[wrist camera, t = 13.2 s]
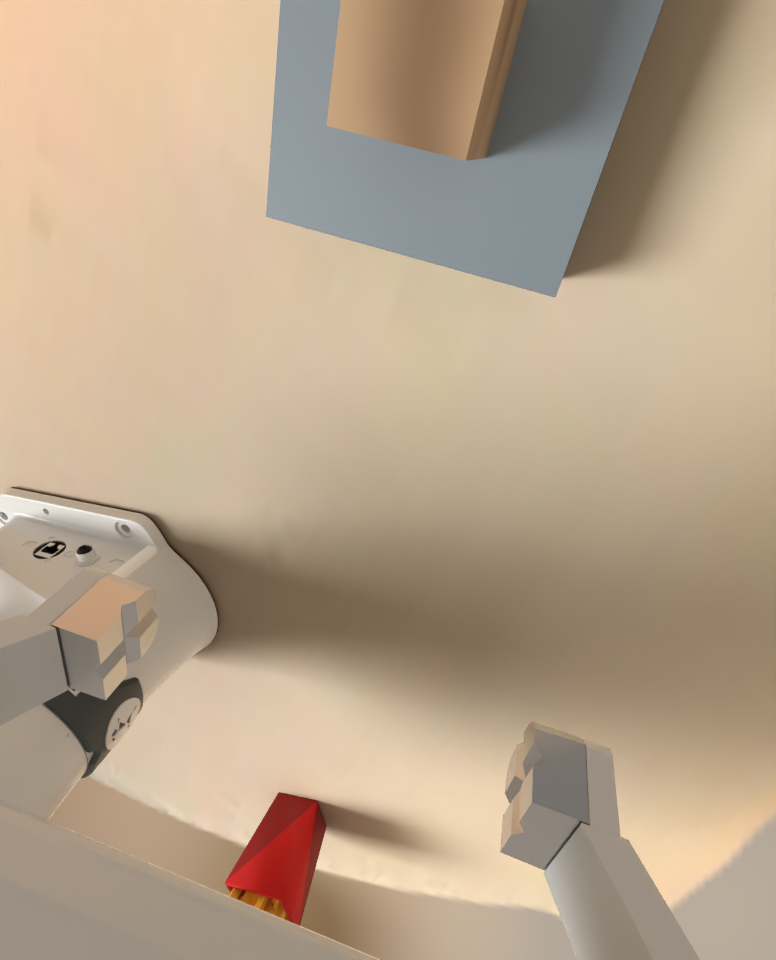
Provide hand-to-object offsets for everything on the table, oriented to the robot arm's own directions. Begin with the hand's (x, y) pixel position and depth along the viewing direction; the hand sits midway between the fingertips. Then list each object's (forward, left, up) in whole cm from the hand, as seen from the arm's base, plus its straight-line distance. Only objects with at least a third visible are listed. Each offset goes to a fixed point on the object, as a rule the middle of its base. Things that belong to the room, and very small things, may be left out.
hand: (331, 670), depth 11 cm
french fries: (-3, -56, -23) cm, 61 cm away
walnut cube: (-4, +11, -19) cm, 22 cm away
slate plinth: (-4, +11, -23) cm, 26 cm away
